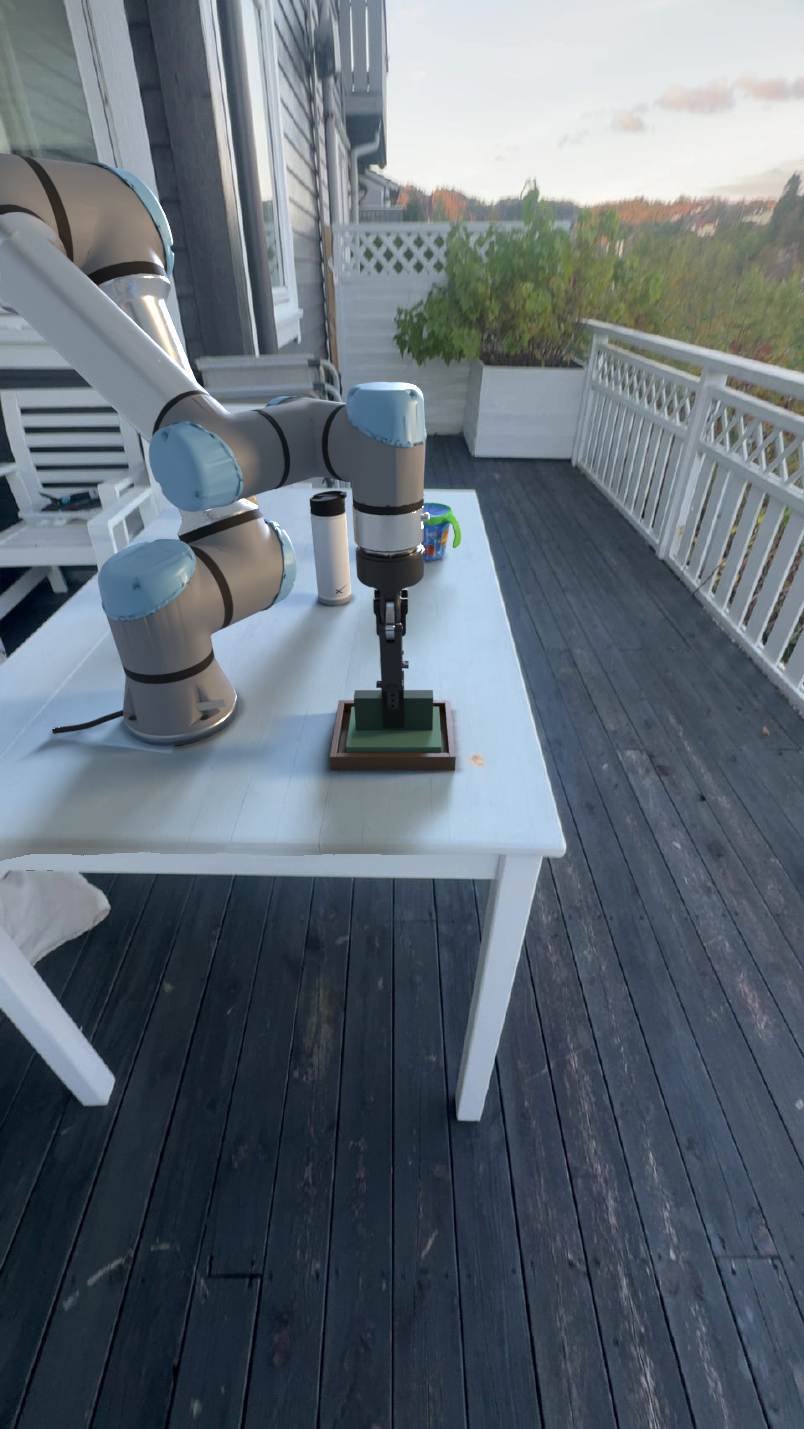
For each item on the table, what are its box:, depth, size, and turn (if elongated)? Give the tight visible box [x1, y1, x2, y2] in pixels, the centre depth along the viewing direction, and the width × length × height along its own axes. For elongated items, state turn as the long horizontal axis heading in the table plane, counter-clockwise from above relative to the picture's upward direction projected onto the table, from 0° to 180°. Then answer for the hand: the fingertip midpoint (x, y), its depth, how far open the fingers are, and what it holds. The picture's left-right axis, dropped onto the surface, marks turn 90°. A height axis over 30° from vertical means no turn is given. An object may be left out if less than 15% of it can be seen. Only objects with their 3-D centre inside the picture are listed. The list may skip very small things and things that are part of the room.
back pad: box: [346, 689, 441, 753], centre depth 81 cm, size 12×9×6 cm
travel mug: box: [309, 490, 352, 606], centre depth 114 cm, size 6×7×20 cm
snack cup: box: [421, 502, 462, 562], centre depth 134 cm, size 16×10×10 cm
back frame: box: [329, 699, 457, 771], centre depth 83 cm, size 16×13×2 cm
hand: (393, 719), depth 81 cm, fingers closed on back pad, 2 cm apart
